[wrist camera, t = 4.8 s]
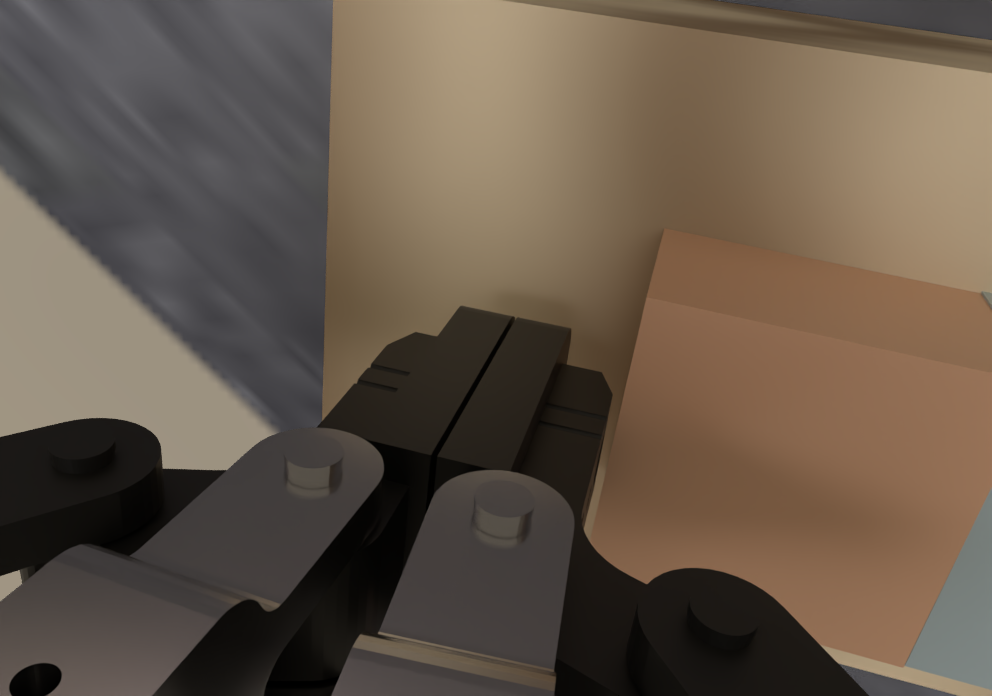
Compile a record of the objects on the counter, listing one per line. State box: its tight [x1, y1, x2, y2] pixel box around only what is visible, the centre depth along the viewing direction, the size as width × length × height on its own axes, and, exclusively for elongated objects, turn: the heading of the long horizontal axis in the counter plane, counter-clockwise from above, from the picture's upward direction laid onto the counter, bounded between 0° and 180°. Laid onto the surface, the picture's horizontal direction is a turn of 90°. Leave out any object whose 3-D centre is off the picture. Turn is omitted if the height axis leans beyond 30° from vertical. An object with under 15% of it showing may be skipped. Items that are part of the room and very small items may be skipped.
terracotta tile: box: [590, 228, 992, 668], centre depth 11 cm, size 4×4×2 cm
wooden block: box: [322, 0, 992, 696], centre depth 15 cm, size 12×9×6 cm
